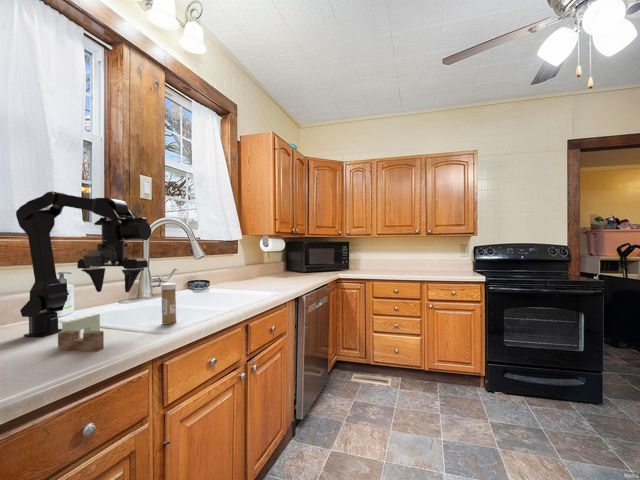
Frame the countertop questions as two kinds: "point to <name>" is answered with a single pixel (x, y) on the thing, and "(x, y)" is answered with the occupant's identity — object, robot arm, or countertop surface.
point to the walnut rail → (81, 341)
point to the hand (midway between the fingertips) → (113, 292)
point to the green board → (83, 324)
